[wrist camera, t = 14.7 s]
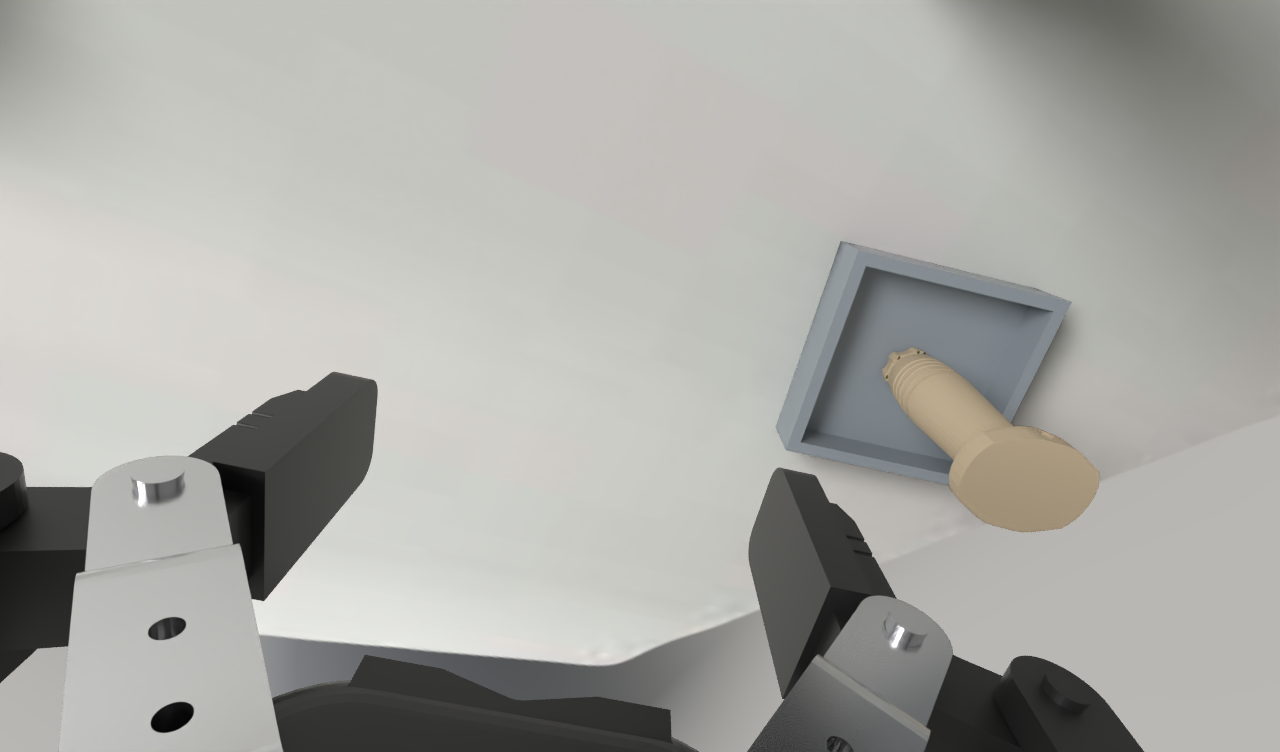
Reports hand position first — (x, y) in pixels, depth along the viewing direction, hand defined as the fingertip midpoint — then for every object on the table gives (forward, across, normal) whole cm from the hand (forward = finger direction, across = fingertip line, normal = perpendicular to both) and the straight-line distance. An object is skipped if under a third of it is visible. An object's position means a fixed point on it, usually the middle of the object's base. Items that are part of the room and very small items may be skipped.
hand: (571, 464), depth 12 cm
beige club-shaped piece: (+29, -21, +4) cm, 36 cm away
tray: (+30, -21, +4) cm, 37 cm away
